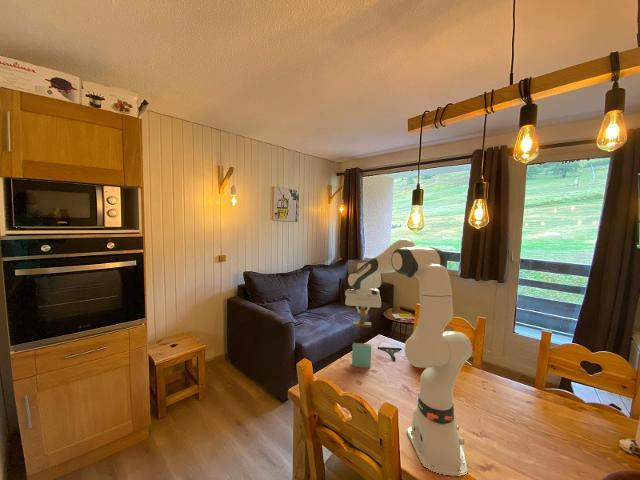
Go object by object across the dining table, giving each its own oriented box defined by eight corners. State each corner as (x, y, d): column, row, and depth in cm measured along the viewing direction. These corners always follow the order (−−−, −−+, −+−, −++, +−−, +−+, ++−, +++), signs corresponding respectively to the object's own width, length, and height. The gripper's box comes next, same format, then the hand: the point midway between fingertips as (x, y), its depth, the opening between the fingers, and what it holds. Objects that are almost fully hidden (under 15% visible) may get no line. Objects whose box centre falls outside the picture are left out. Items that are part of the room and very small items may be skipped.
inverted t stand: (371, 327, 148) (371, 309, 147) (353, 326, 150) (353, 308, 149) (370, 324, 152) (371, 307, 151) (353, 323, 154) (354, 305, 153)
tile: (370, 367, 142) (371, 346, 141) (351, 365, 144) (352, 344, 143) (370, 365, 145) (371, 344, 144) (352, 363, 146) (352, 342, 145)
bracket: (381, 361, 150) (381, 356, 150) (377, 348, 165) (377, 344, 165) (407, 363, 150) (407, 358, 149) (400, 350, 164) (401, 346, 164)
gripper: (344, 290, 148) (344, 314, 149) (382, 292, 145) (381, 316, 146) (345, 287, 154) (344, 310, 155) (381, 289, 151) (380, 313, 152)
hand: (362, 313), depth 150 cm, fingers closed on inverted t stand, 2 cm apart
